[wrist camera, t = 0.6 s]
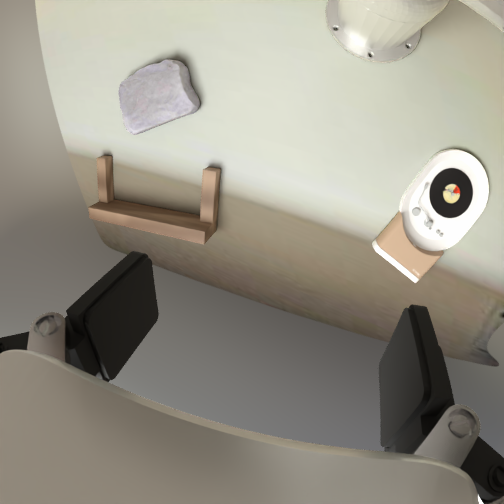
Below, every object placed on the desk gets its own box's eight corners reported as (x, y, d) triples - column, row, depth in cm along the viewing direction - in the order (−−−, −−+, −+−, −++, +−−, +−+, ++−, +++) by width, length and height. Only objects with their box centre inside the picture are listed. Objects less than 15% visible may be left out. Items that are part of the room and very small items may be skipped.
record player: (367, 245, 40) (455, 133, 30) (365, 236, 43) (447, 131, 33) (422, 288, 41) (505, 190, 31) (417, 278, 43) (496, 185, 33)
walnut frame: (104, 155, 47) (85, 162, 43) (220, 168, 43) (207, 176, 39) (106, 208, 52) (89, 218, 47) (216, 230, 48) (204, 244, 44)
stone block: (130, 85, 42) (139, 139, 44) (112, 80, 37) (121, 138, 40) (192, 56, 38) (205, 114, 40) (177, 47, 34) (190, 109, 36)
